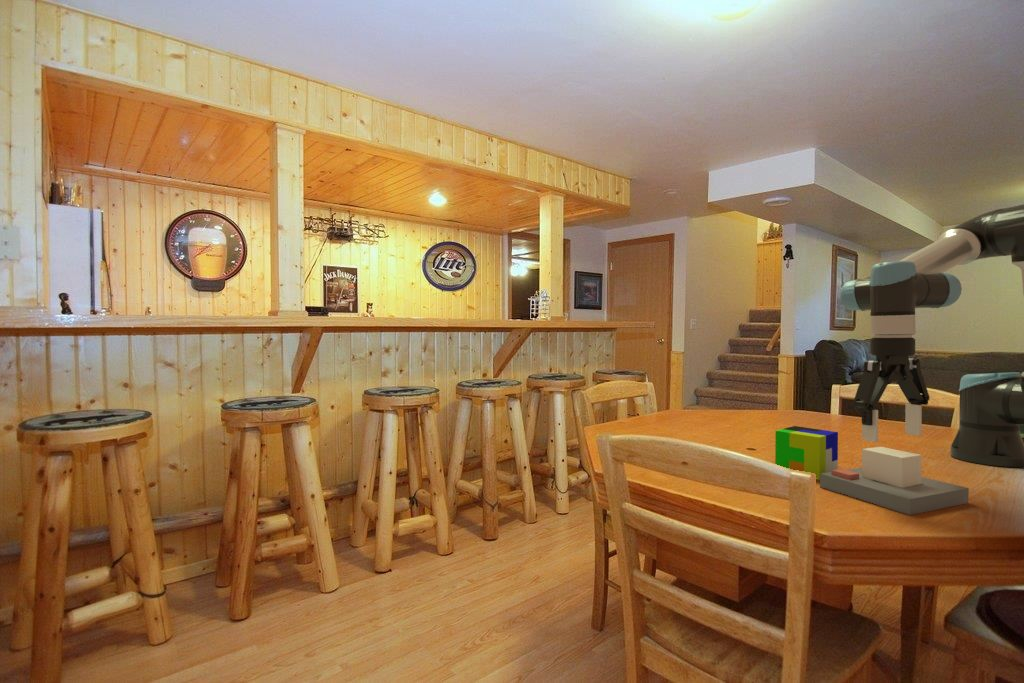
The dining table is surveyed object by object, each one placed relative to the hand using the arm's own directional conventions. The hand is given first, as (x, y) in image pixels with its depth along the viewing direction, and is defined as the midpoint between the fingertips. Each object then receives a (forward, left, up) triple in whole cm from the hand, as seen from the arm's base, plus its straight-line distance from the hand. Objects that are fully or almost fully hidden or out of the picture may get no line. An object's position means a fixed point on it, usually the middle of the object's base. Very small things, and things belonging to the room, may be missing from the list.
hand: (892, 437), depth 105 cm
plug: (0, 0, -12) cm, 12 cm away
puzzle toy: (+1, -19, -12) cm, 23 cm away
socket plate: (0, 0, -12) cm, 12 cm away
